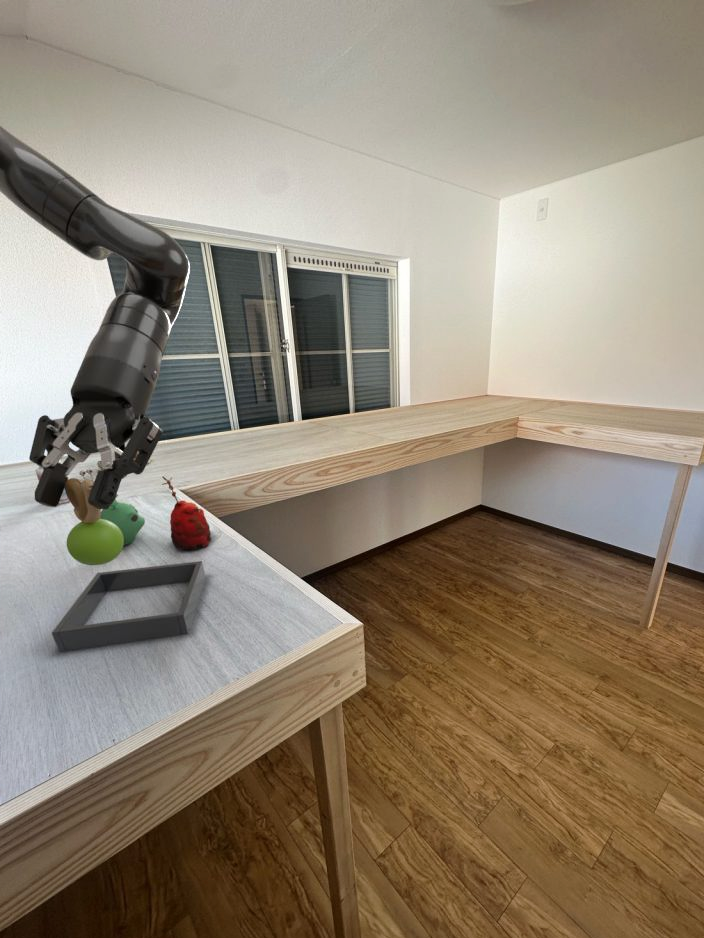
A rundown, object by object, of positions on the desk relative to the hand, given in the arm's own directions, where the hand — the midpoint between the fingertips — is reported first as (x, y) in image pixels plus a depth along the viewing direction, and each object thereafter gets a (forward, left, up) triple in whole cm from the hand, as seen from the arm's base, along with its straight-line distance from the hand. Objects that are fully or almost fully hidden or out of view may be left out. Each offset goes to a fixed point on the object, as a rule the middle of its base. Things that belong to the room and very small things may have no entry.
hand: (71, 504), depth 44 cm
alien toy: (-11, +37, -22) cm, 44 cm away
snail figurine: (0, +2, -8) cm, 9 cm away
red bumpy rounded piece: (+2, +33, -22) cm, 39 cm away
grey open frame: (-1, +11, -22) cm, 24 cm away
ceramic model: (-29, +95, -22) cm, 101 cm away
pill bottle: (-35, +66, -22) cm, 78 cm away
